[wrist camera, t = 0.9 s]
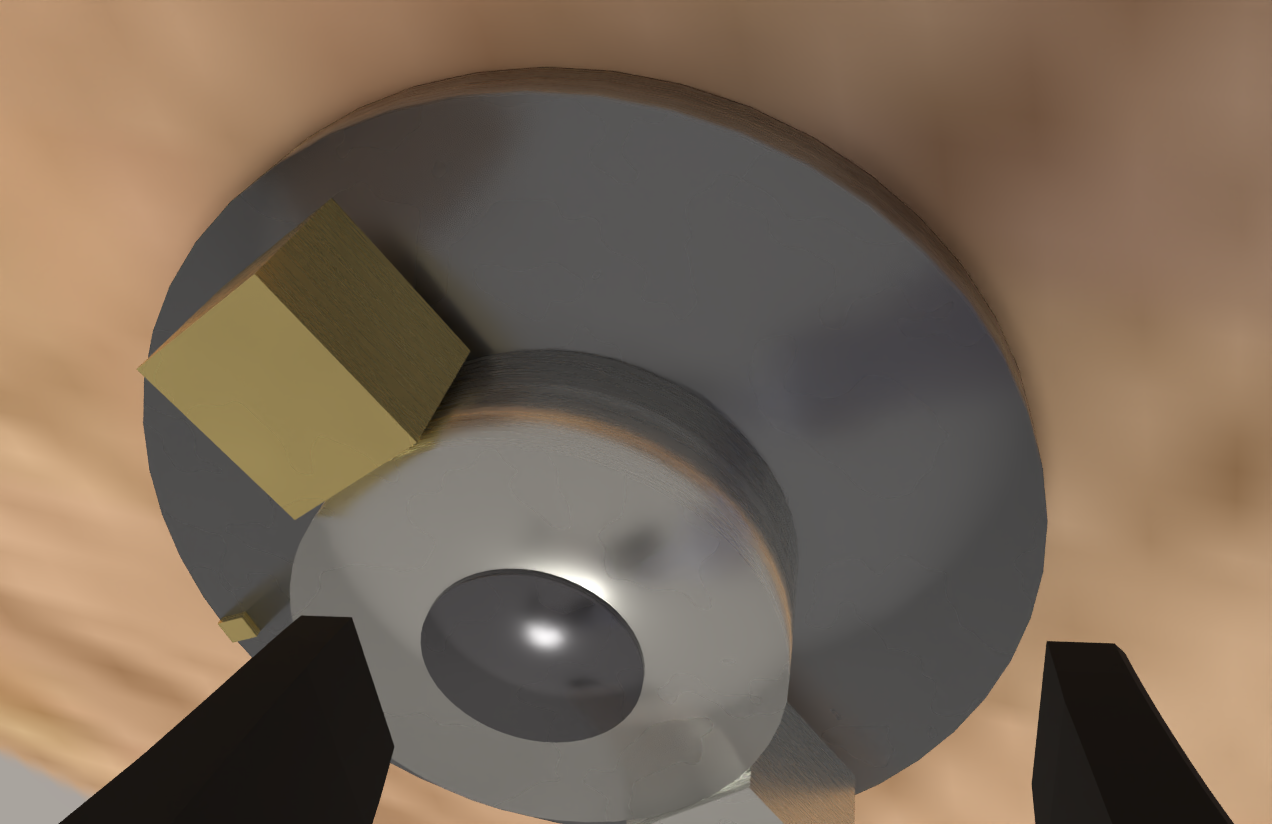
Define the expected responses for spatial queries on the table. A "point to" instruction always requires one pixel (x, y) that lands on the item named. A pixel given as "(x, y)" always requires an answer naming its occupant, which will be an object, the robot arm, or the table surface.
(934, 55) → the table surface
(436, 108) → the flange plate
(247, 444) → the ring nut
